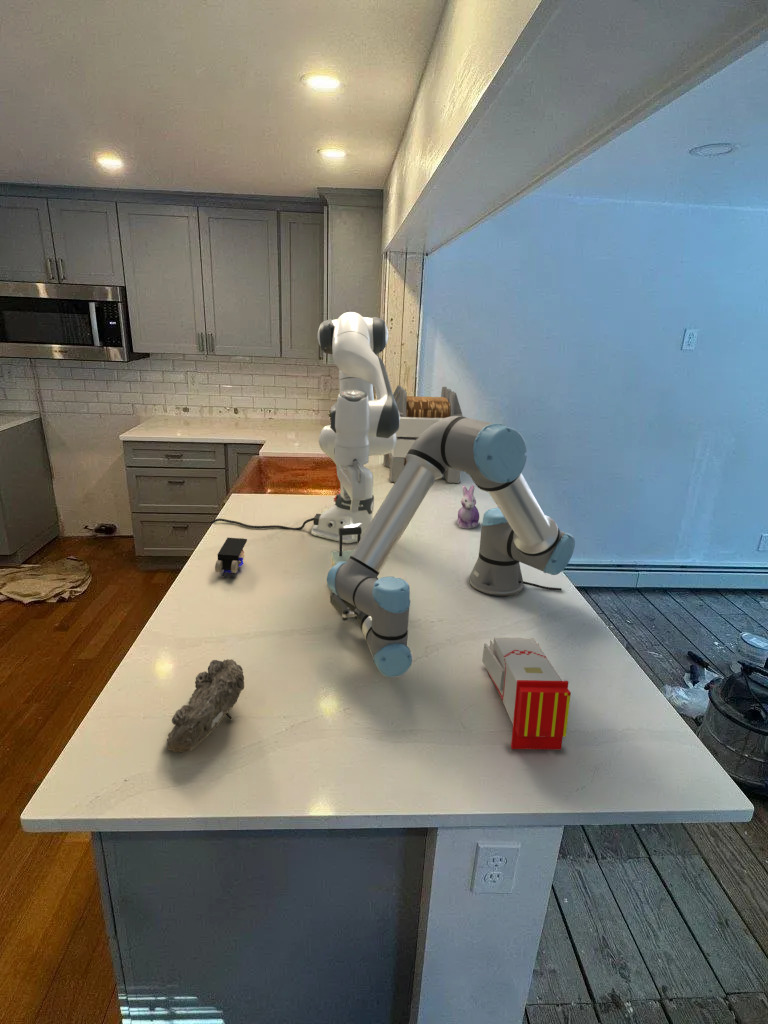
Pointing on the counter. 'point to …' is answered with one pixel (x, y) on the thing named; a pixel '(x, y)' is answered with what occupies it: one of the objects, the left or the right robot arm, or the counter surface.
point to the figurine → (468, 510)
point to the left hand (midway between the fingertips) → (350, 505)
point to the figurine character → (230, 556)
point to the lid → (341, 555)
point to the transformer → (419, 426)
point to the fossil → (206, 705)
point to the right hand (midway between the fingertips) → (356, 581)
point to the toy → (529, 692)
